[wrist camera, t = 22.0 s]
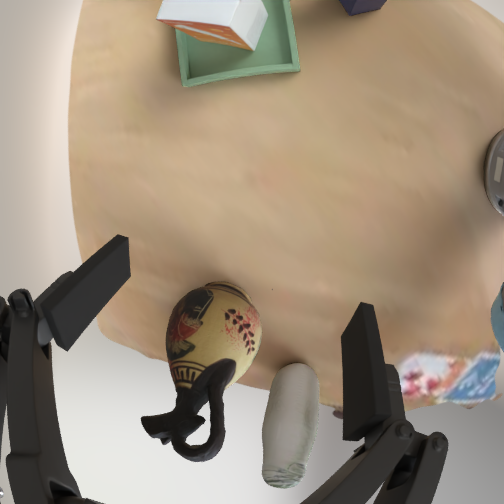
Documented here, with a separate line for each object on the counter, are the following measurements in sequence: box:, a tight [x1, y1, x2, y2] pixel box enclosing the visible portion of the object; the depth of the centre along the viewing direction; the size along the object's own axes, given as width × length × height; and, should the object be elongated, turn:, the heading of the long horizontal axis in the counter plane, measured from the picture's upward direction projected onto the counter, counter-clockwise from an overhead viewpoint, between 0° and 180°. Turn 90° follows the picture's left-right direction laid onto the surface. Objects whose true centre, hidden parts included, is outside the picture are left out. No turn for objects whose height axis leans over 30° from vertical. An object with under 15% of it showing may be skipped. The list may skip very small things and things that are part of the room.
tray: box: [175, 0, 300, 87], centre depth 27 cm, size 16×16×2 cm
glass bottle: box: [262, 363, 319, 488], centre depth 45 cm, size 10×10×28 cm
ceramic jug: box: [141, 282, 273, 462], centre depth 38 cm, size 17×15×30 cm
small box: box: [156, 0, 268, 51], centre depth 22 cm, size 8×6×13 cm
